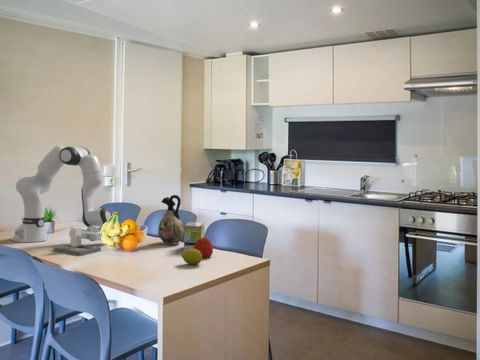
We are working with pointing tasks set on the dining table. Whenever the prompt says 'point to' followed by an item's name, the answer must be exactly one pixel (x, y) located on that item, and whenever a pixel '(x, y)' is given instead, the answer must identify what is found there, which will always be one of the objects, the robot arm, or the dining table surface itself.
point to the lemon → (192, 256)
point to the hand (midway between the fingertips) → (74, 236)
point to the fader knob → (74, 240)
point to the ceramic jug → (171, 222)
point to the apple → (204, 247)
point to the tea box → (192, 234)
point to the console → (77, 249)
